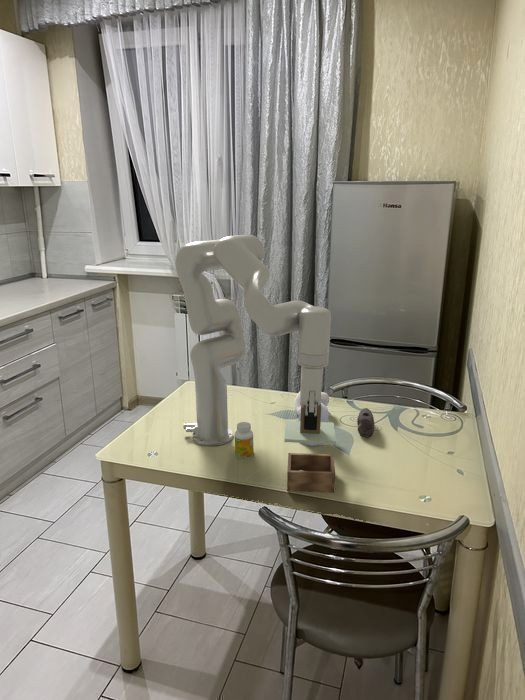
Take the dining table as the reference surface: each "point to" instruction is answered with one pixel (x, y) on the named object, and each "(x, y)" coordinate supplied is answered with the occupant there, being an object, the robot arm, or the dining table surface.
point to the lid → (318, 436)
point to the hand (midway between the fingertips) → (310, 425)
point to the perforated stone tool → (365, 423)
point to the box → (311, 472)
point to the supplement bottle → (244, 440)
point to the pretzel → (323, 400)
